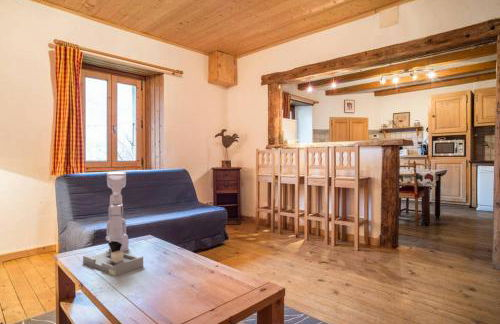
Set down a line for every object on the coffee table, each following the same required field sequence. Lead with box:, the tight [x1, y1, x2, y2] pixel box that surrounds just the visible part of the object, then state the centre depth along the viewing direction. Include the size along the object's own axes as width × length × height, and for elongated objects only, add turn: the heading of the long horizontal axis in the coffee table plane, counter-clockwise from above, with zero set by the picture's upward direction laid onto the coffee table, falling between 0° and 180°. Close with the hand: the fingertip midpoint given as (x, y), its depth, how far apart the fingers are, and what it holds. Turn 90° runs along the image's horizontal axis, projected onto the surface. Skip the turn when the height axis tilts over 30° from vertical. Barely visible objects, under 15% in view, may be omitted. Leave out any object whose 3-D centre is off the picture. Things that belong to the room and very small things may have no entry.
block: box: [111, 251, 125, 263], centre depth 140 cm, size 4×4×4 cm
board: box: [82, 248, 144, 277], centre depth 140 cm, size 14×28×4 cm, turn 57°
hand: (115, 256), depth 143 cm, fingers closed
